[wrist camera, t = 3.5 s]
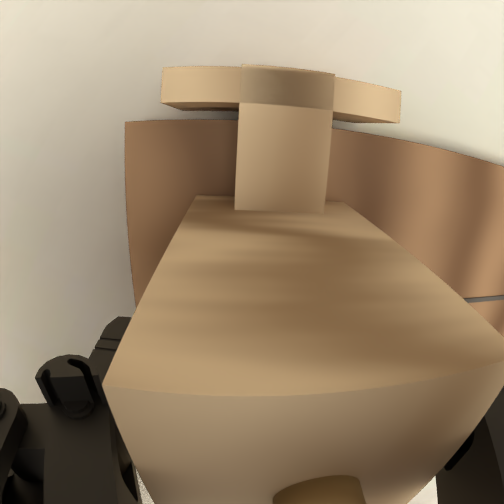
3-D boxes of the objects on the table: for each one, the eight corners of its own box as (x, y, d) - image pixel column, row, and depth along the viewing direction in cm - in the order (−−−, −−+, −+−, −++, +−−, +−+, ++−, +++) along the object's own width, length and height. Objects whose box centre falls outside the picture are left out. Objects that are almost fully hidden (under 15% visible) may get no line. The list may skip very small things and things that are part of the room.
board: (154, 336, 18) (145, 365, 15) (142, 122, 13) (124, 122, 11) (530, 316, 20) (546, 330, 18) (566, 192, 16) (587, 200, 13)
